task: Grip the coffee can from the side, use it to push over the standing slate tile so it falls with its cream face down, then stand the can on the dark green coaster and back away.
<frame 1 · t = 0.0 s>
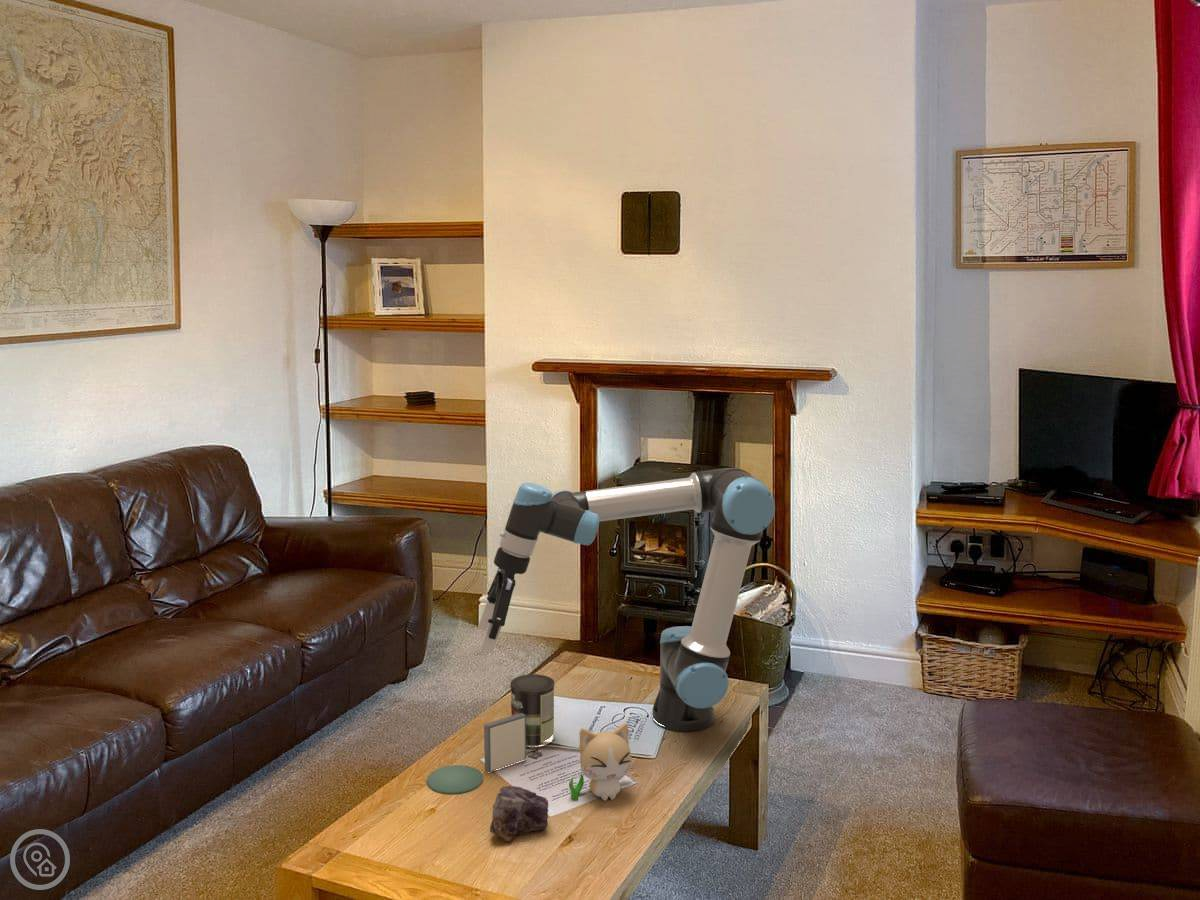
hand: (484, 640, 249), 28 cm above the table, tool tilted 20°, fingers open, 13 cm apart
rock: (516, 830, 223), on the table
kitten: (603, 794, 237), on the table
coffee can: (532, 739, 263), on the table
slate tile: (505, 765, 250), on the table
coaster: (455, 780, 243), on the table
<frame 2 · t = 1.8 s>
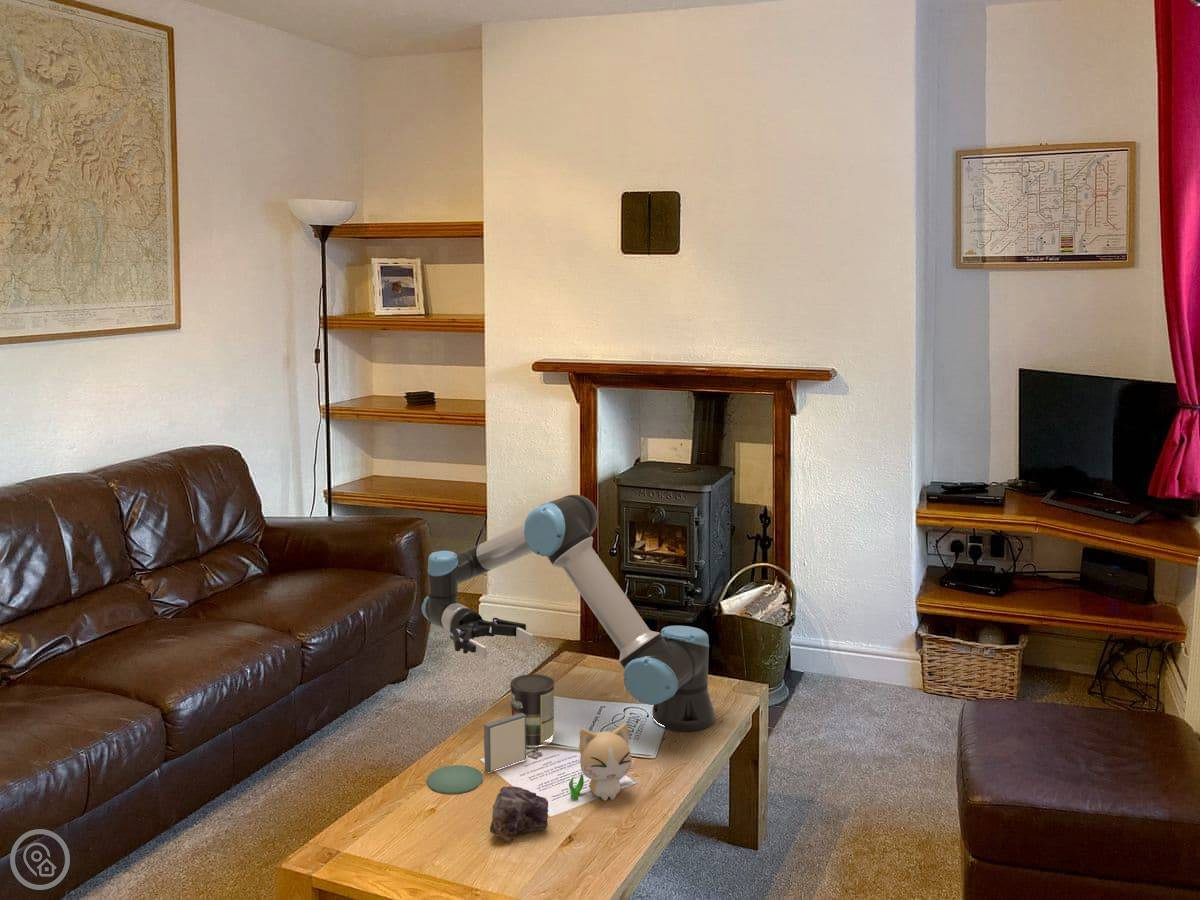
hand: (509, 646, 267), 20 cm above the table, tool horizontal, fingers open, 13 cm apart
nothing on the table moved.
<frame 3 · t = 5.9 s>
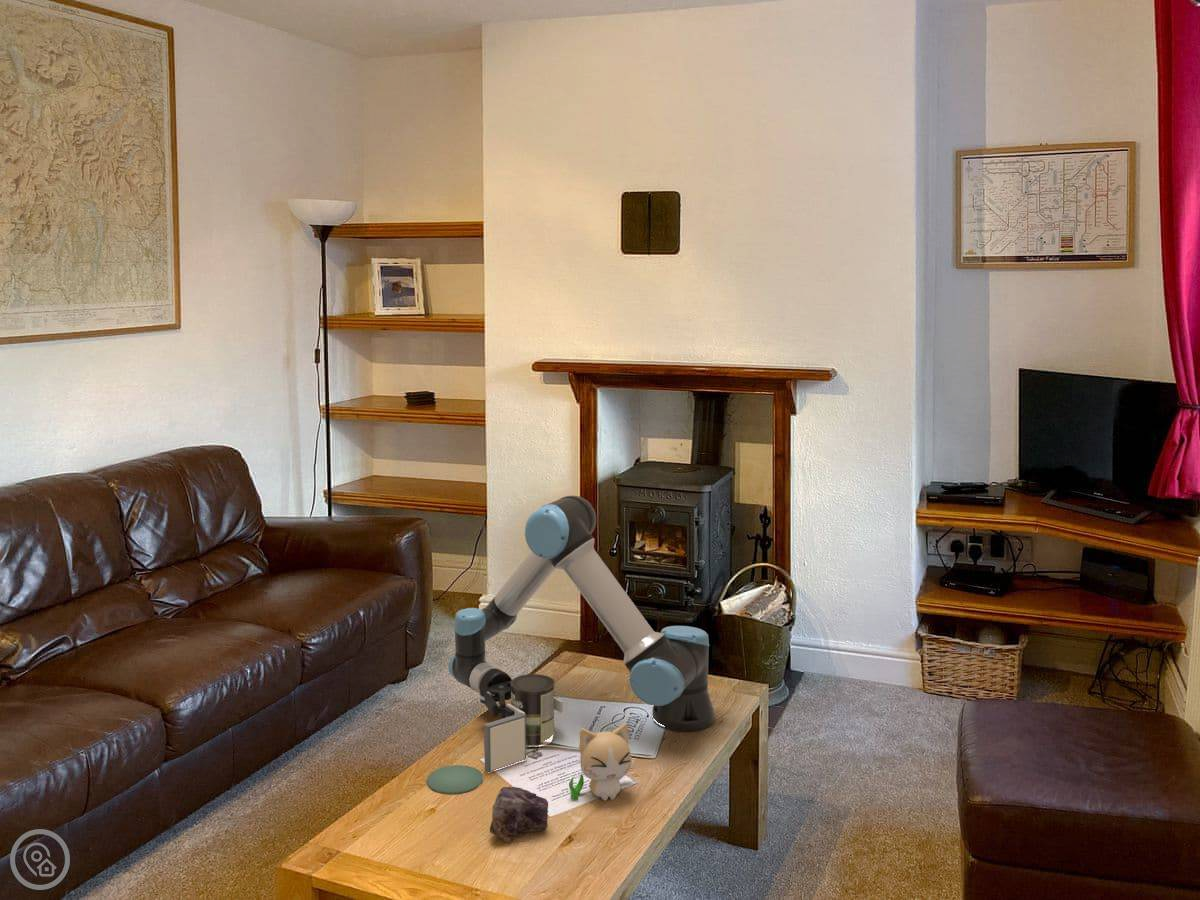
hand: (543, 712, 258), 8 cm above the table, tool horizontal, fingers closed on coffee can, 10 cm apart
coffee can: (532, 739, 263), on the table, touching gripper
everything else where it was.
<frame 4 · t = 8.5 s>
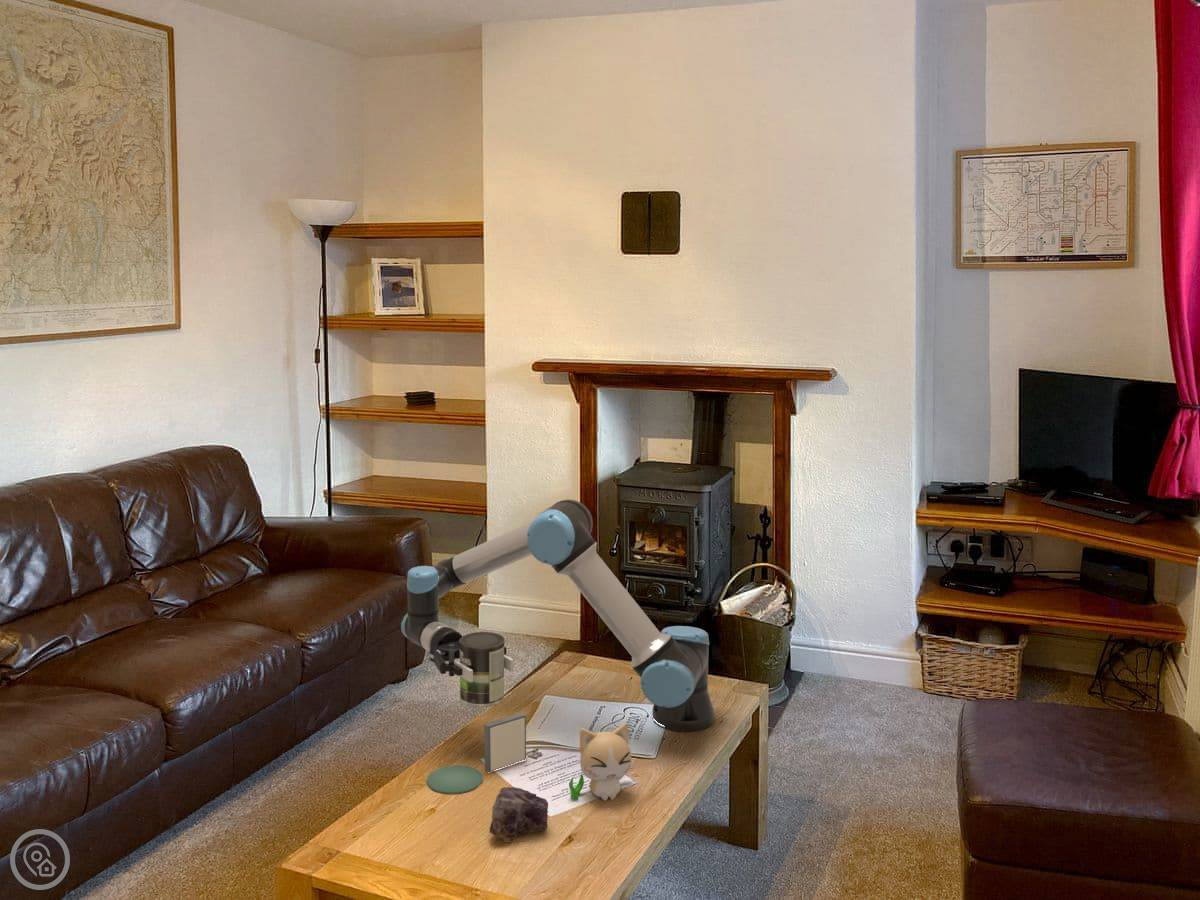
hand: (492, 670, 251), 20 cm above the table, tool horizontal, fingers closed on coffee can, 10 cm apart
coffee can: (482, 698, 256), point 12 cm above the table, touching gripper
everything else where it was.
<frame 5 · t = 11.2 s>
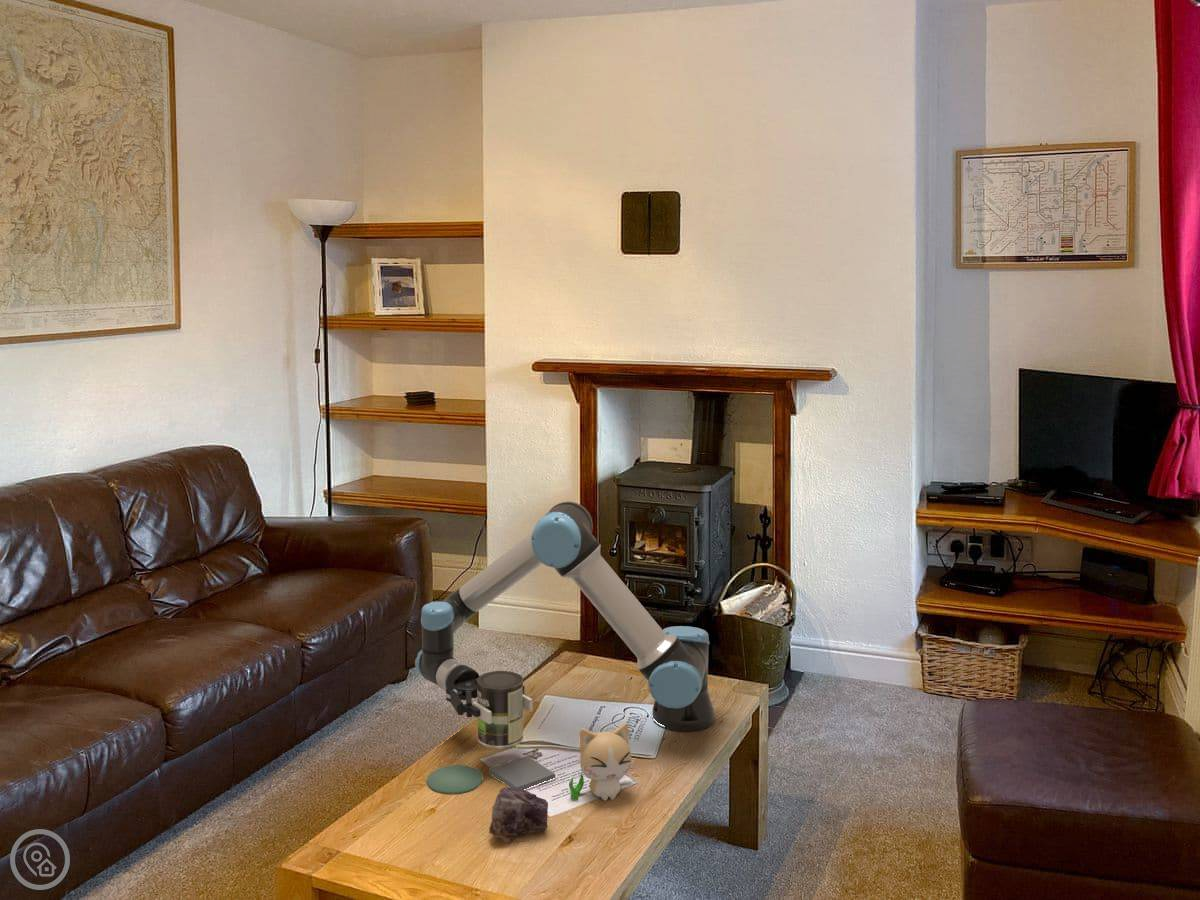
hand: (510, 711, 245), 14 cm above the table, tool horizontal, fingers closed on coffee can, 10 cm apart
coffee can: (500, 739, 250), point 6 cm above the table, touching gripper
slate tile: (508, 765, 249), point 1 cm above the table, tilted 90°
everything else where it was.
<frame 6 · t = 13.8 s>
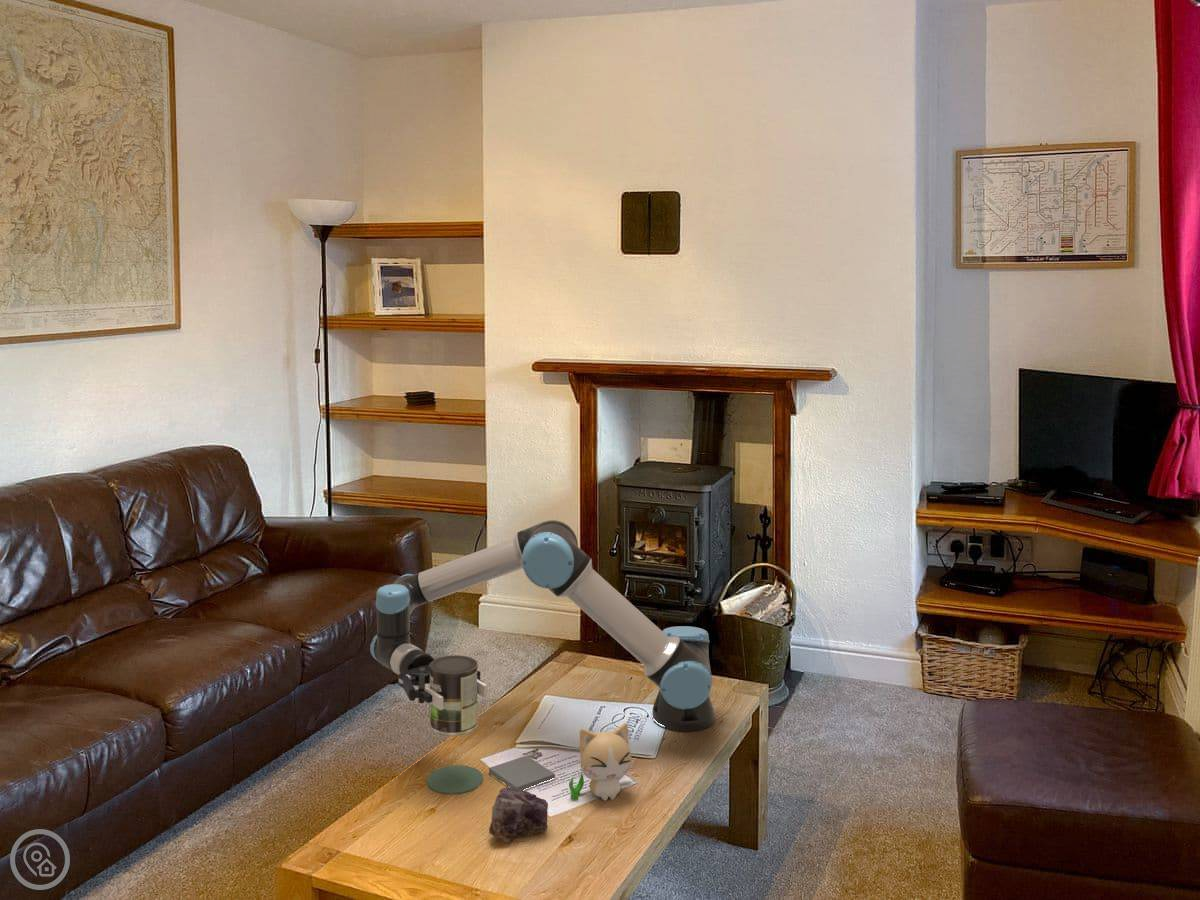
hand: (464, 697, 236), 20 cm above the table, tool horizontal, fingers closed on coffee can, 10 cm apart
coffee can: (454, 726, 241), point 12 cm above the table, touching gripper
everything else where it was.
when the fingers open (10 cm above the table, at t = 16.3 s): coffee can drops 1 cm, resting on coaster.
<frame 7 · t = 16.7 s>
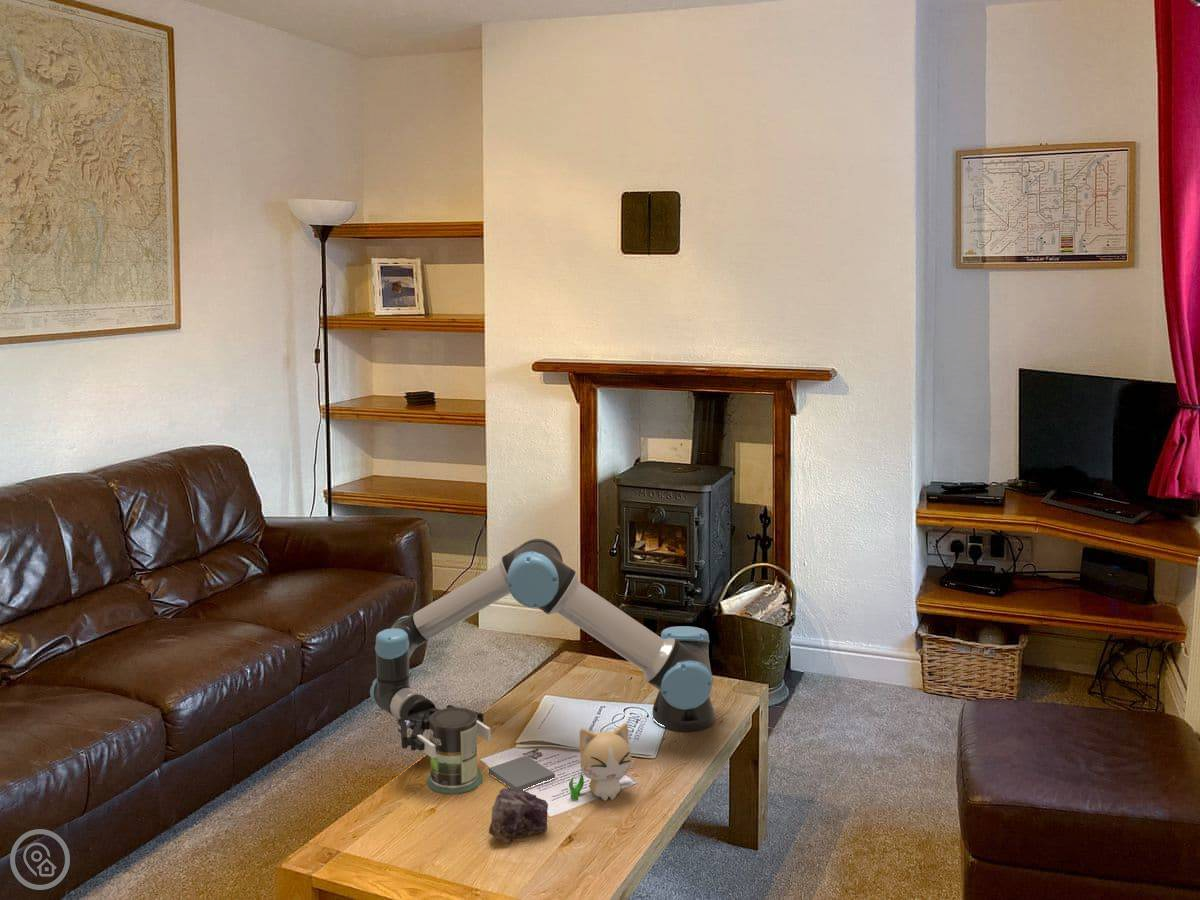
hand: (462, 743, 238), 10 cm above the table, tool horizontal, fingers open, 13 cm apart
coffee can: (454, 778, 243), resting on coaster
everything else where it was.
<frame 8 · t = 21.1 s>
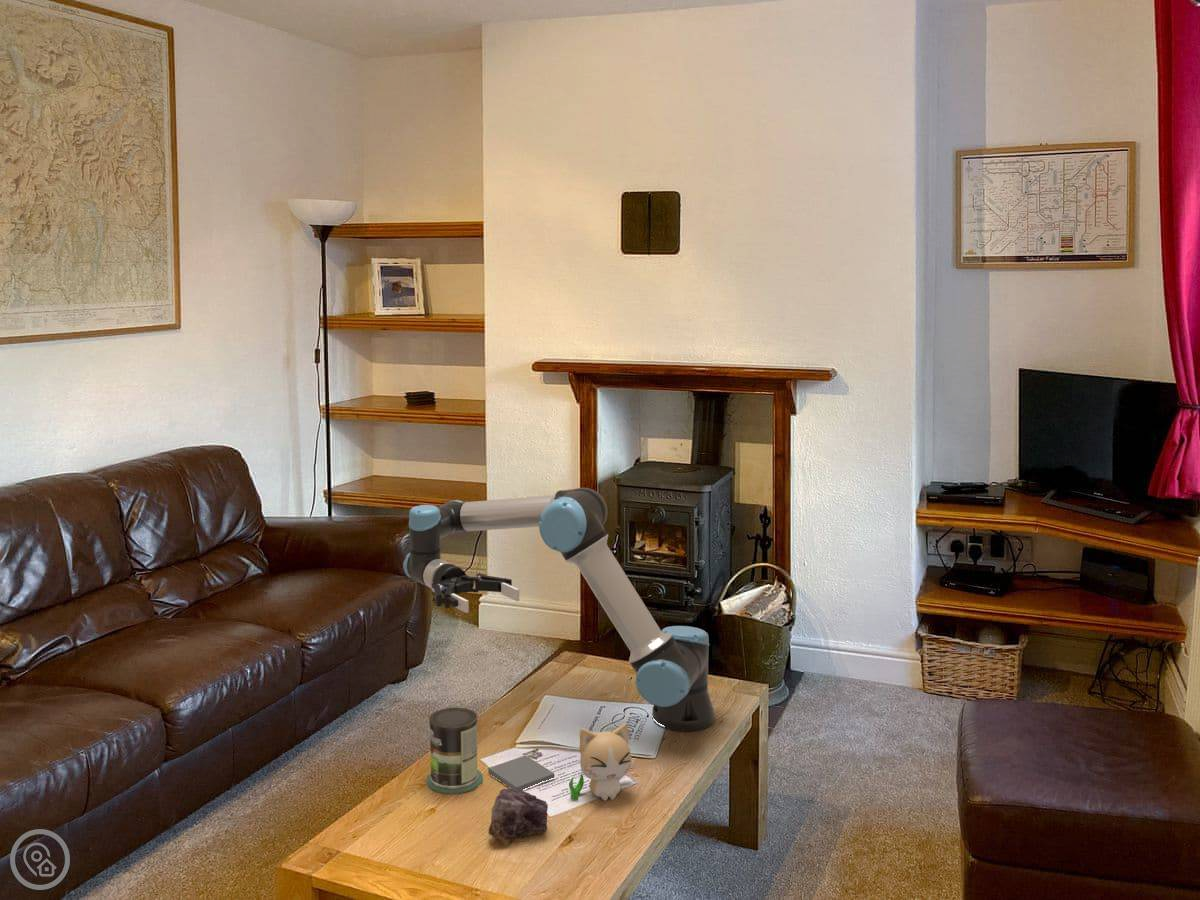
hand: (493, 601, 253), 35 cm above the table, tool horizontal, fingers open, 13 cm apart
at the end: slate tile tilted 90°; coffee can 0.1 cm from the coaster (horizontally); coffee can tilted 0° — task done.
